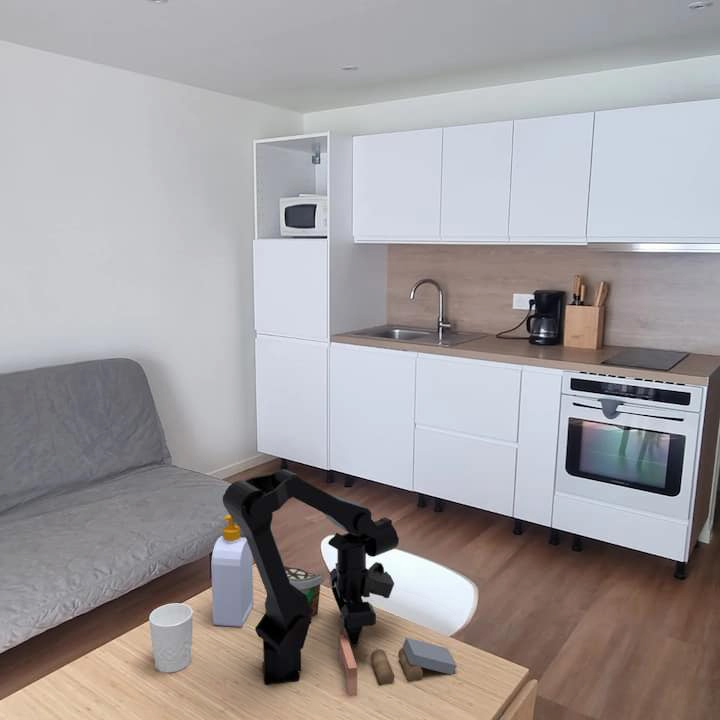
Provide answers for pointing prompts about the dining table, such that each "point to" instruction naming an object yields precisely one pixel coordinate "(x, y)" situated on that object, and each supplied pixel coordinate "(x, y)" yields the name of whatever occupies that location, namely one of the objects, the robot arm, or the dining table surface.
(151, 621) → the white cup
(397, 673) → the dining table surface
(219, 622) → the soap bottle
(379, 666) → the roller
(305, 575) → the food container
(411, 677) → the roller
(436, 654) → the slab
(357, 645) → the roller
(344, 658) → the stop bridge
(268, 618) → the robot arm
